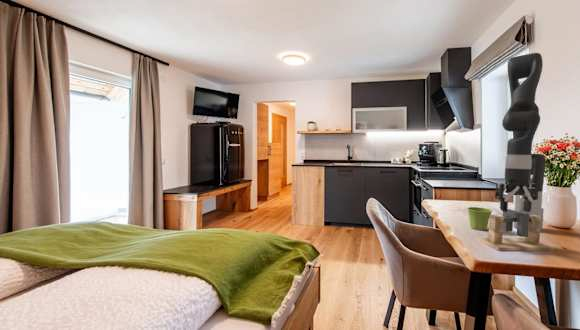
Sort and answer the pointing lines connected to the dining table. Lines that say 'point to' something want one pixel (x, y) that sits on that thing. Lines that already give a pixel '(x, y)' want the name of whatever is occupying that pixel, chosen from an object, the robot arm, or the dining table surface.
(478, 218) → the plant pot
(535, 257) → the dining table surface
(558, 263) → the dining table surface
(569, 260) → the dining table surface
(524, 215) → the rubber u
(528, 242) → the bar rack
